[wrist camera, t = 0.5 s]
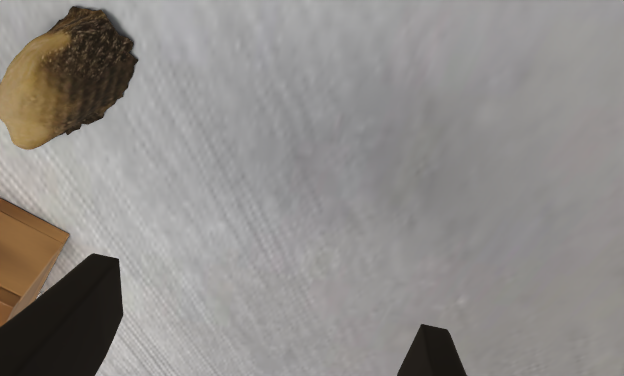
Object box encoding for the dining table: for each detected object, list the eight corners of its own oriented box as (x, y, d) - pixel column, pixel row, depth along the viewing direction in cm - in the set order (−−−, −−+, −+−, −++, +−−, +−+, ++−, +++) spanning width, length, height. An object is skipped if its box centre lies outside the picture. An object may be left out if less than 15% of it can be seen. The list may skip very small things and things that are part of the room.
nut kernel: (34, 144, 22) (7, 179, 20) (-37, 37, 20) (-78, 63, 17) (171, 101, 22) (163, 132, 20) (118, -13, 19) (100, 5, 17)
